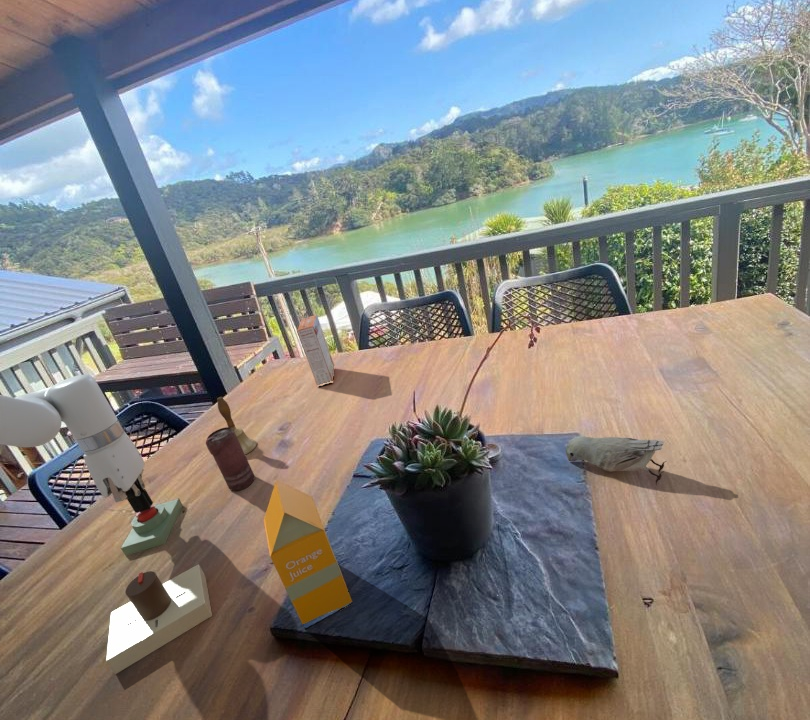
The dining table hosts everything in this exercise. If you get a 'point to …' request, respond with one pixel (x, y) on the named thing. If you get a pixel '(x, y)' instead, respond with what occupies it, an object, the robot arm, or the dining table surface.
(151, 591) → the knob
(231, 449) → the can
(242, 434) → the hand bell
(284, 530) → the orange juice
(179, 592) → the panel
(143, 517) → the button
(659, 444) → the decorative bird
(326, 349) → the cracker box
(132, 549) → the button block
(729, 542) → the dining table surface
